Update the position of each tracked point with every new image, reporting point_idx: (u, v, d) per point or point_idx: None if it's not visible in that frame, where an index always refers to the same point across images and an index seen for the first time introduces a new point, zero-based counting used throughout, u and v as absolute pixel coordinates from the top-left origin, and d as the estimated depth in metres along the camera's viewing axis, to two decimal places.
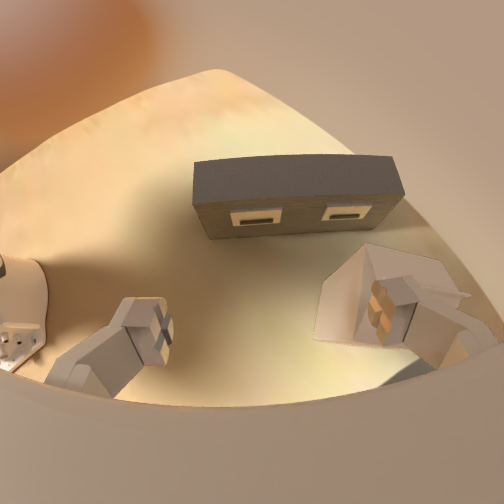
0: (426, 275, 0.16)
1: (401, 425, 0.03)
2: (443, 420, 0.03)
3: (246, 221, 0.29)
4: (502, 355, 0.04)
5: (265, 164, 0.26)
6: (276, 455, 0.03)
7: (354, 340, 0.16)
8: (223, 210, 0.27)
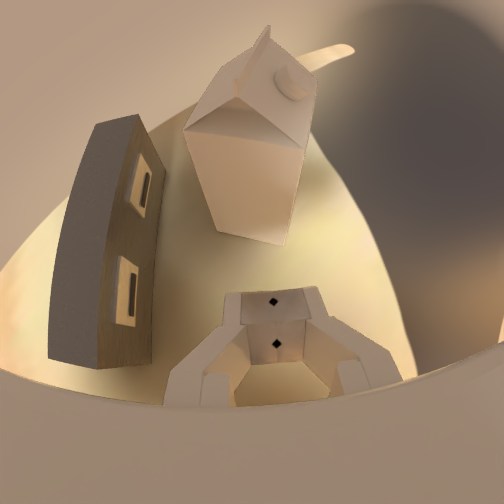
0: (236, 67, 0.13)
1: (401, 425, 0.03)
2: (443, 420, 0.03)
3: (130, 306, 0.20)
4: (502, 355, 0.04)
5: (63, 264, 0.17)
6: (276, 455, 0.03)
7: (304, 148, 0.13)
8: (111, 331, 0.17)
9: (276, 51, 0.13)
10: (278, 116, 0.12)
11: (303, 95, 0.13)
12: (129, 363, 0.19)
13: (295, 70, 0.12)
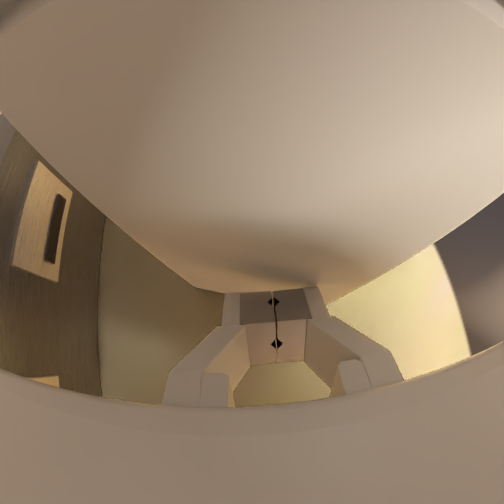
0: None
1: (401, 426, 0.03)
2: (443, 420, 0.03)
3: None
4: (502, 355, 0.04)
5: None
6: (276, 455, 0.03)
7: None
8: None
9: None
10: None
11: None
12: None
13: None
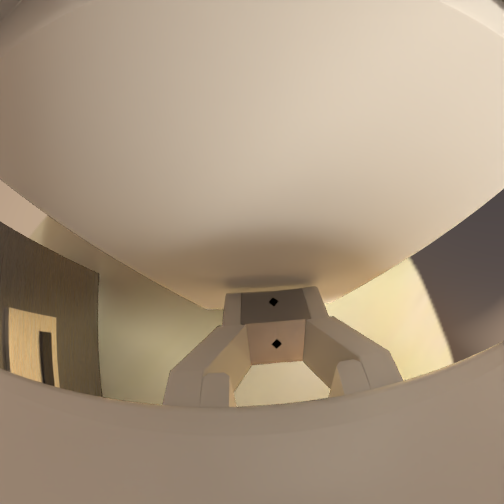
0: None
1: (401, 425, 0.03)
2: (443, 420, 0.03)
3: None
4: (502, 355, 0.04)
5: None
6: (276, 455, 0.03)
7: None
8: None
9: None
10: None
11: None
12: None
13: None
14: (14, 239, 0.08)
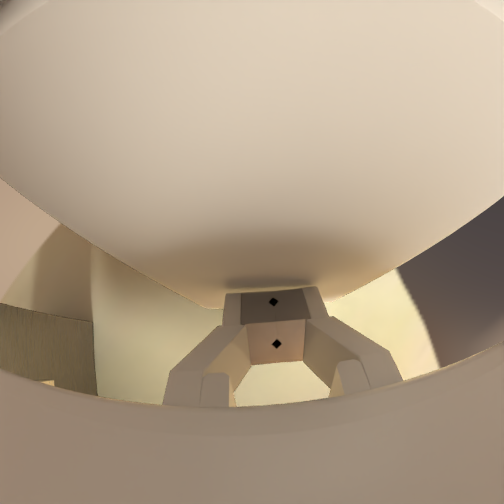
0: None
1: (401, 425, 0.03)
2: (443, 420, 0.03)
3: None
4: (502, 355, 0.04)
5: None
6: (276, 455, 0.03)
7: None
8: None
9: None
10: None
11: None
12: None
13: None
14: (0, 312, 0.07)
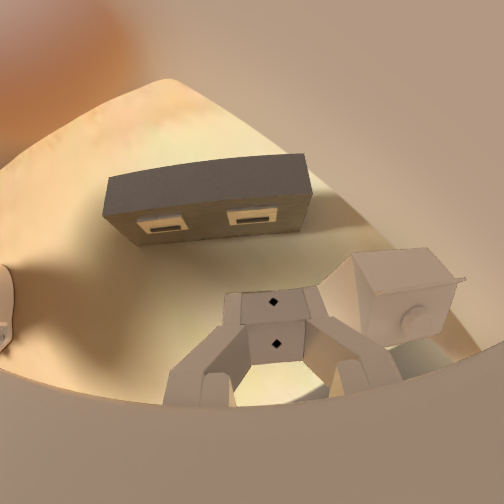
0: (418, 270, 0.16)
1: (402, 426, 0.03)
2: (443, 420, 0.03)
3: (155, 229, 0.30)
4: (502, 355, 0.04)
5: (165, 174, 0.27)
6: (276, 455, 0.03)
7: None
8: (131, 220, 0.28)
9: (445, 294, 0.15)
10: (378, 325, 0.16)
11: (406, 335, 0.15)
12: (123, 232, 0.30)
13: (423, 322, 0.14)
14: (305, 203, 0.28)
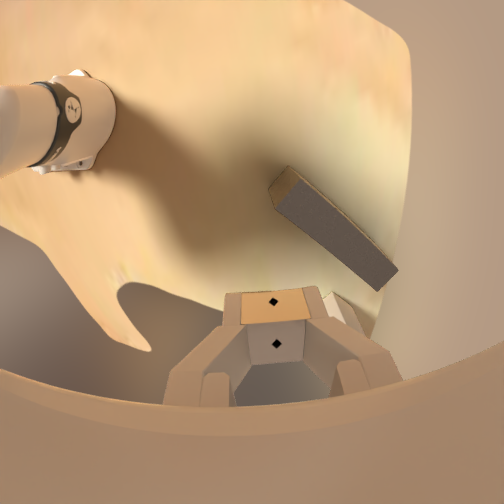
0: None
1: (401, 425, 0.03)
2: (443, 420, 0.03)
3: None
4: (502, 355, 0.04)
5: (335, 219, 0.34)
6: (276, 455, 0.03)
7: None
8: None
9: None
10: None
11: None
12: (272, 198, 0.38)
13: None
14: None
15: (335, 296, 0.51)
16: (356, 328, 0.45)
